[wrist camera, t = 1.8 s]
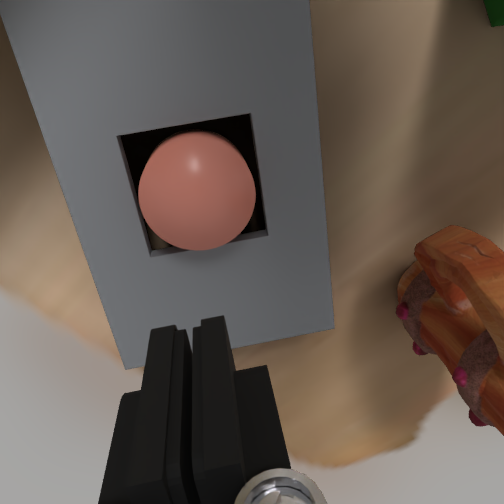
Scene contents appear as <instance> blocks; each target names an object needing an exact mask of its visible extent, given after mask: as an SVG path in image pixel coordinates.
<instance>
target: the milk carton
mask: <svg viewBox="0 0 504 504" xmlns="http://www.w3.org/2000/svg"><path fill="white" fill-rule="evenodd" d="M484 4H485V7H486V10H487V13H488V17H489V20H490V23H491V26H492V27H495V26H502V25H504V0H484Z"/></svg>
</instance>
